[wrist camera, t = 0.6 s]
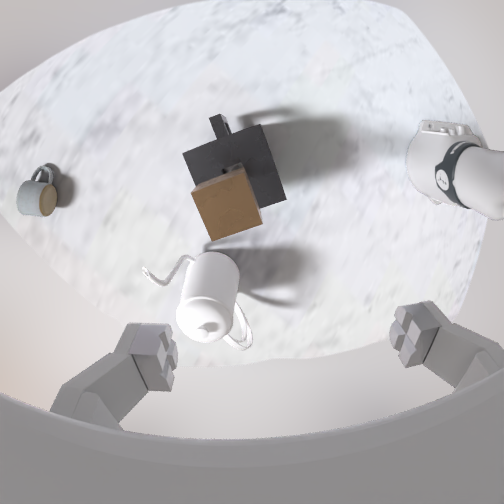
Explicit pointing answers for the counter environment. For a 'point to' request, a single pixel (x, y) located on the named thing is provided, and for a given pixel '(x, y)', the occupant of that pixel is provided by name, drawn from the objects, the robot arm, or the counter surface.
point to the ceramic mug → (37, 196)
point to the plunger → (227, 203)
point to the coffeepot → (209, 299)
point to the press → (238, 160)
